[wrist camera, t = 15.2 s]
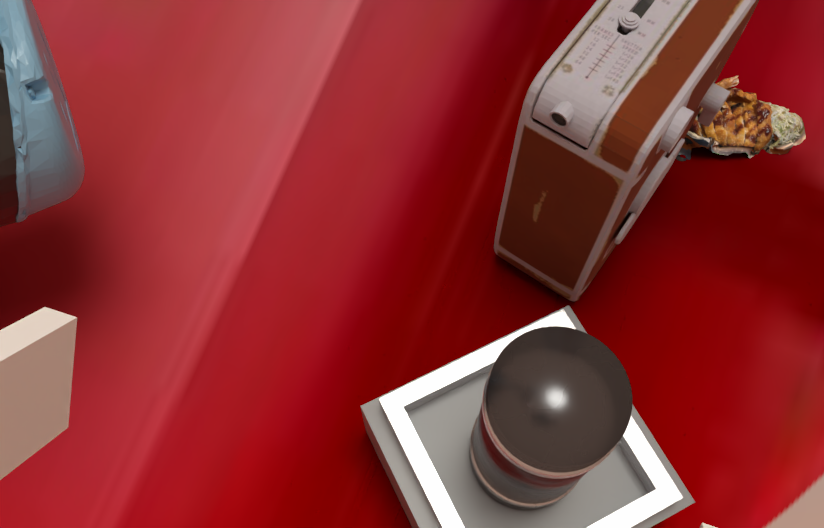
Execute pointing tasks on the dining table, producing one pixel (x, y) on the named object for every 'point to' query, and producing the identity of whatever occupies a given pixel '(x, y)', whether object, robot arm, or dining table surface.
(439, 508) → the square picture frame
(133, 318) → the dining table surface
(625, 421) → the lens
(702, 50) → the cine camera
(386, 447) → the square shallow tray
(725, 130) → the pastry
